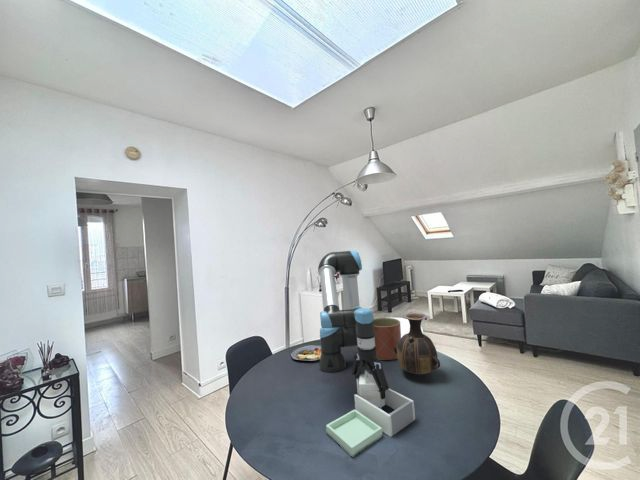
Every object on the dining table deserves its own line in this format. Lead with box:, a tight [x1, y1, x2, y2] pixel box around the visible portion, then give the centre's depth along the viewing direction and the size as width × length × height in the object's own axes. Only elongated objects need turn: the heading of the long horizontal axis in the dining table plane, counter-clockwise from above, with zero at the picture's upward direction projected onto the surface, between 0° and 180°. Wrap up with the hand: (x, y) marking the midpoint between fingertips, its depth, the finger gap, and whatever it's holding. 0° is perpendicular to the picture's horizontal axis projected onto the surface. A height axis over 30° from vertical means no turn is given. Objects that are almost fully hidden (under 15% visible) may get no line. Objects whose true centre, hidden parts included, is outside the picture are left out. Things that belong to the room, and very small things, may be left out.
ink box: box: [359, 370, 383, 410], centre depth 108 cm, size 9×8×13 cm
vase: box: [394, 312, 441, 375], centre depth 132 cm, size 23×19×30 cm
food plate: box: [290, 344, 321, 362], centre depth 166 cm, size 25×23×4 cm
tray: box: [325, 409, 384, 458], centre depth 93 cm, size 14×14×3 cm
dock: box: [353, 386, 416, 438], centre depth 102 cm, size 18×14×7 cm
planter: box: [373, 317, 402, 361], centre depth 158 cm, size 19×19×20 cm
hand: (370, 399), depth 108 cm, fingers closed on ink box, 11 cm apart
